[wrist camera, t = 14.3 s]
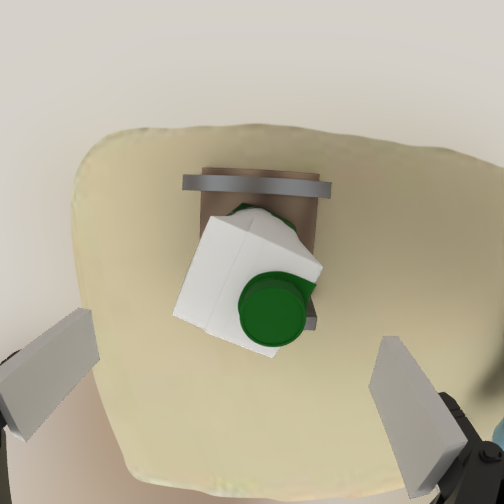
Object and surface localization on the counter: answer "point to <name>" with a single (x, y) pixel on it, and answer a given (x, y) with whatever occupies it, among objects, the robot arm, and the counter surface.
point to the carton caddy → (263, 200)
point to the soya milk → (249, 280)
